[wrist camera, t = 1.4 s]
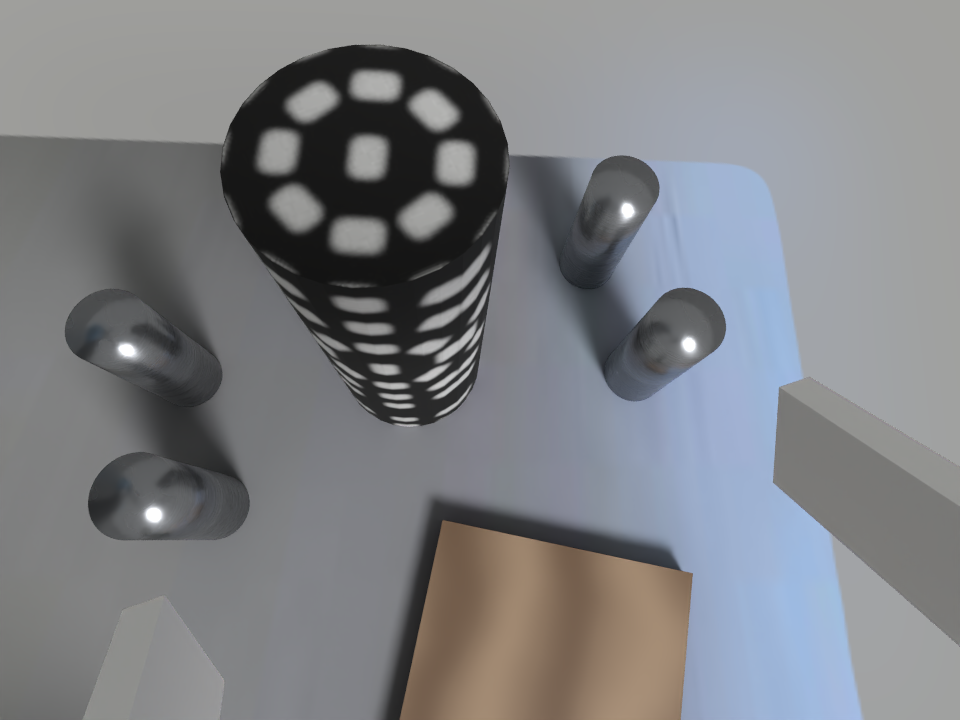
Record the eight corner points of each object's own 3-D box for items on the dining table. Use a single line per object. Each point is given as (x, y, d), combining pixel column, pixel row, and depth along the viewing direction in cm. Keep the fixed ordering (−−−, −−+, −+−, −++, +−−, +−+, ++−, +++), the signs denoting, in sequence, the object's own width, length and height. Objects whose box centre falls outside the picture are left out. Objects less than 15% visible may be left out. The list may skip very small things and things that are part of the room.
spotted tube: (352, 296, 37) (245, 35, 18) (481, 303, 37) (512, 54, 18) (337, 423, 34) (195, 279, 15) (475, 429, 35) (506, 296, 16)
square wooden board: (382, 804, 29) (378, 818, 27) (443, 520, 33) (442, 520, 31) (656, 865, 28) (667, 882, 27) (682, 571, 33) (692, 573, 31)
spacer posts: (105, 517, 32) (-20, 509, 23) (242, 169, 39) (183, 65, 31) (632, 630, 32) (700, 665, 23) (673, 258, 39) (737, 178, 30)
